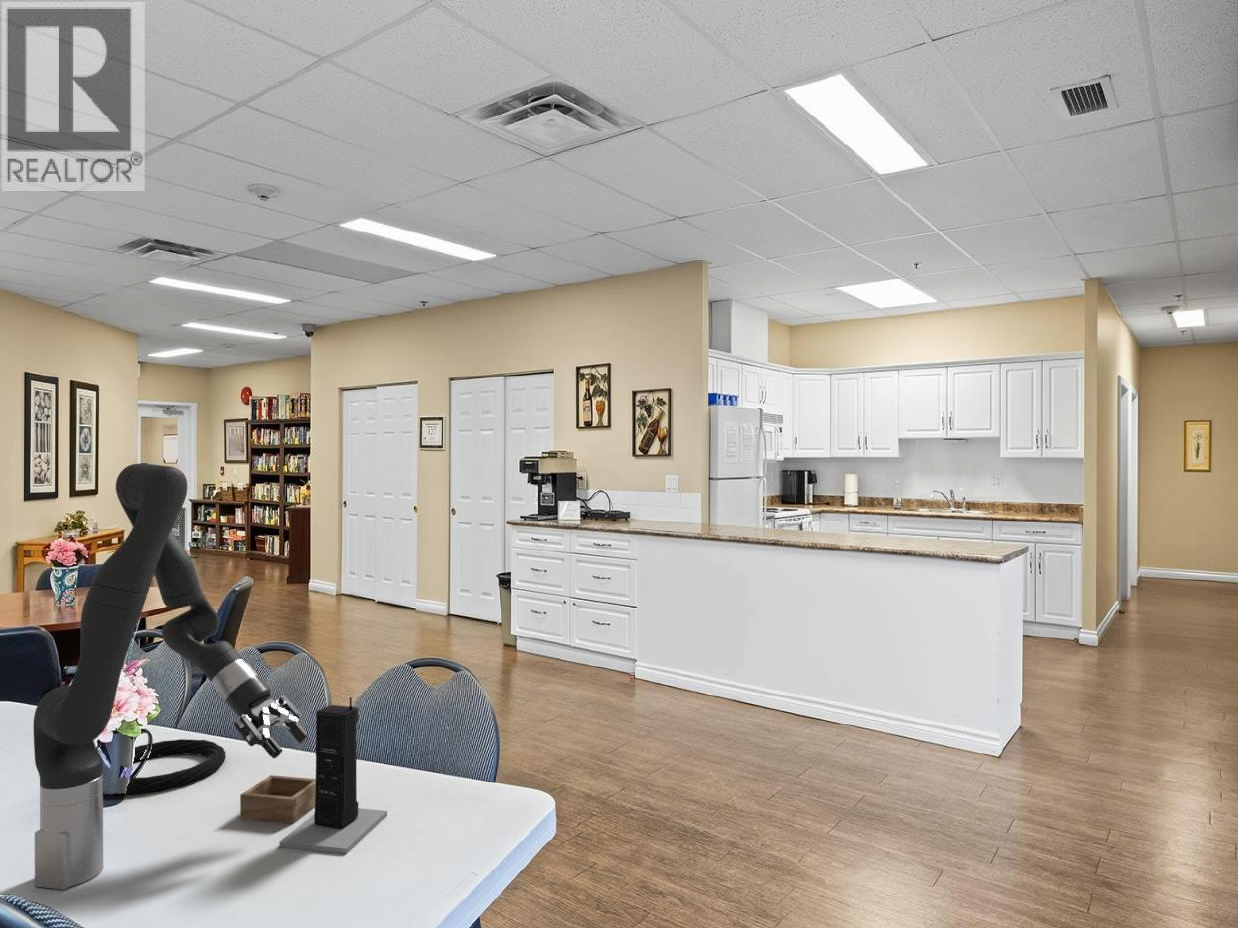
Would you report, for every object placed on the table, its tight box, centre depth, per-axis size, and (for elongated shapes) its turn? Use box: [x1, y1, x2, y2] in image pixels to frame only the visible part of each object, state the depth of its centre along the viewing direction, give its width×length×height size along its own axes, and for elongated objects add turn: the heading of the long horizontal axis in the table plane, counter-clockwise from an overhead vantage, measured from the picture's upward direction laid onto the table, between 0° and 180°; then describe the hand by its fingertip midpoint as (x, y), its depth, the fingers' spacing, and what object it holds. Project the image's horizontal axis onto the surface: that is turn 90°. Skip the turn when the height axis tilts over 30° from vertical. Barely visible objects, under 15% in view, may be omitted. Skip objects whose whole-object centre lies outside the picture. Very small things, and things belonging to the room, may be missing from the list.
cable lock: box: [125, 739, 226, 796], centre depth 184 cm, size 28×4×30 cm
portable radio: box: [313, 696, 360, 829], centre depth 157 cm, size 8×6×25 cm
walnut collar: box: [239, 774, 316, 825], centre depth 164 cm, size 10×12×5 cm
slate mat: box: [278, 807, 388, 855], centre depth 156 cm, size 16×14×1 cm
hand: (291, 747), depth 157 cm, fingers open, 8 cm apart
